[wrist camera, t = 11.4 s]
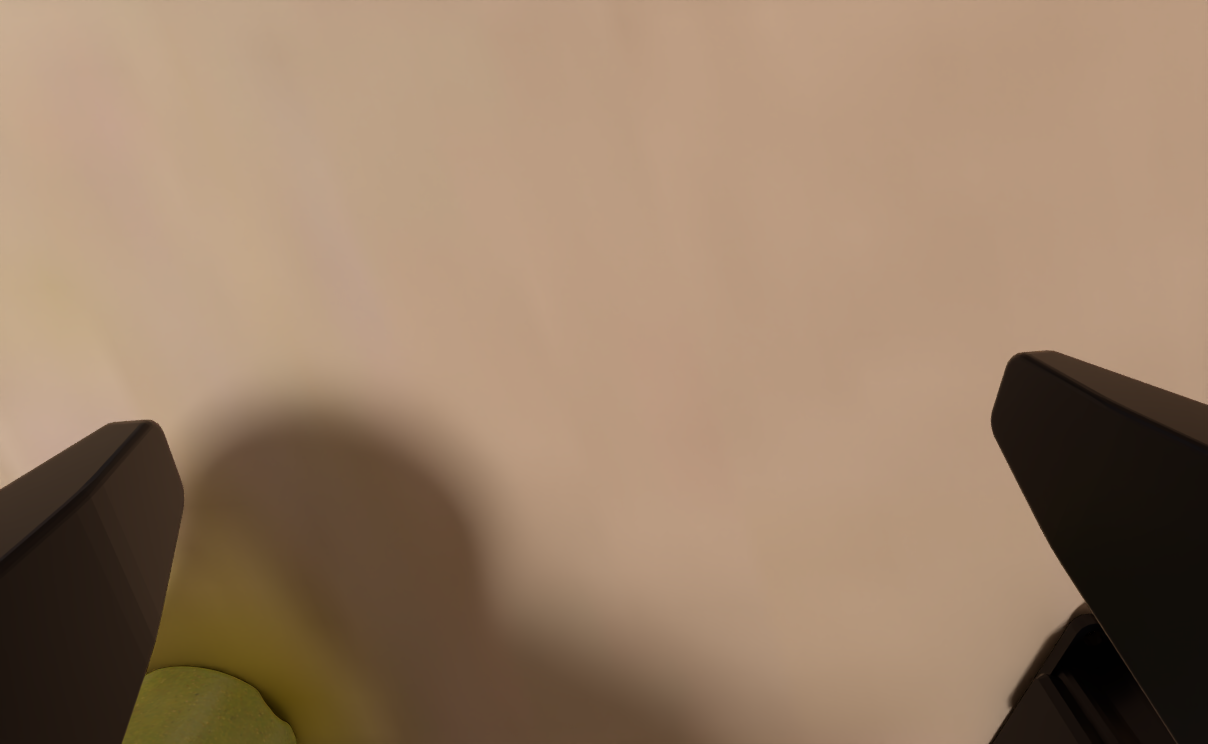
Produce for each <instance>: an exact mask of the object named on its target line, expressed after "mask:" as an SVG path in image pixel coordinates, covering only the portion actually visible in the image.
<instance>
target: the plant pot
mask: <svg viewBox="0 0 1208 744" xmlns="http://www.w3.org/2000/svg"><path fill="white" fill-rule="evenodd" d="M122 744H297V741H296V738H295V735H294V733H293V730H292V728H291V726H290V725H289V724H288V723H287V722H284V721H282V720H281V719H279V718H278V717H277V716H276V715H275V714H274V713H273V712H272V710H271V709H270V708H269V707H268V705H267V704H266V703H265V701H264V700H263V698H262V697H261V695H260V693H259V691H258V690H257V689H255V688H254V687H253V686H251V685H249V684H247V683H246V682H244V681H242V680H240V679H238V678H235V677H233V676H230V675H228V674H225V673H222V672H219V671H215V670H210V669H205V668H199V667H189V666H178V667H167V668H162V669H158V670H155V671H153V672H151V673H149V674H147V675H145V677H144V680H143V683H142V685H141V688H140V691H139V694H138V697H137V700H136V703H135V706H134V709H133V712H132V715H131V718H130V721H129V724H128V727H127V730H126V733H125V736H124V739H123V742H122Z"/></svg>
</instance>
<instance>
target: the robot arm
mask: <svg viewBox="0 0 1208 744" xmlns="http://www.w3.org/2000/svg"><path fill="white" fill-rule="evenodd" d="M991 427H992V431H993V435H994V437H995V439H996V441H997V443H998V445H999V447H1000V449H1001V451H1002V453H1003V455H1004V457H1005V459H1006V461H1007V463H1008V465H1009V467H1010V469H1011V471H1012V473H1013V475H1014V477H1015V479H1016V481H1017V483H1018V485H1019V487H1020V489H1021V491H1022V493H1023V495H1024V497H1025V499H1026V500H1027V502H1028V504H1029V506H1030V508H1031V510H1032V512H1033V514H1034V516H1035V518H1036V520H1037V522H1038V524H1039V526H1040V528H1041V530H1042V532H1043V534H1044V536H1045V537H1046V539H1047V541H1048V543H1049V545H1050V547H1051V548H1052V550H1053V552H1054V553H1055V555H1056V556H1057V558H1058V560H1059V561H1060V563H1061V565H1062V566H1063V568H1064V569H1065V571H1066V572H1067V574H1068V576H1069V577H1070V579H1071V580H1072V582H1073V583H1074V585H1075V586H1076V588H1077V590H1078V591H1079V593H1080V594H1081V596H1082V597H1083V599H1084V600H1085V602H1086V604H1087V605H1088V607H1089V608H1090V610H1091V611H1092V613H1093V614H1085V615H1081V616H1079V617H1077V618H1075V619H1074V620H1073V621H1072V622H1071V623H1070V624H1069V626H1068V627H1067V629H1066V630H1065V632H1064V633H1063V635H1062V637H1061V638H1060V640H1059V641H1058V643H1057V644H1056V646H1055V647H1054V649H1053V651H1052V652H1051V654H1050V655H1049V657H1048V658H1047V660H1046V661H1045V663H1044V665H1043V666H1042V668H1041V669H1040V671H1039V672H1038V674H1037V675H1036V677H1035V679H1034V680H1033V682H1032V683H1031V685H1030V686H1029V688H1028V689H1027V691H1026V693H1025V694H1024V696H1023V697H1022V699H1021V700H1020V702H1019V703H1018V705H1017V707H1016V708H1015V710H1014V711H1013V713H1012V714H1011V716H1010V717H1009V719H1008V721H1007V722H1006V724H1005V725H1004V727H1003V728H1002V730H1001V731H1000V733H999V735H998V736H997V738H996V739H995V741H994V742H993V744H1208V405H1206V404H1204V403H1201V402H1198V401H1195V400H1192V399H1189V398H1187V397H1184V396H1181V395H1178V394H1175V393H1172V392H1170V391H1167V390H1164V389H1161V388H1158V387H1155V386H1152V385H1150V384H1147V383H1144V382H1141V381H1138V380H1135V379H1133V378H1130V377H1127V376H1124V375H1121V374H1118V373H1116V372H1113V371H1110V370H1107V369H1104V368H1101V367H1098V366H1096V365H1093V364H1090V363H1087V362H1084V361H1081V360H1079V359H1076V358H1073V357H1070V356H1067V355H1064V354H1062V353H1059V352H1055V351H1048V350H1045V351H1033V352H1022V353H1018V354H1016V355H1014V356H1013V357H1012V358H1011V359H1010V360H1009V361H1008V363H1007V366H1006V368H1005V372H1004V375H1003V378H1002V381H1001V384H1000V388H999V391H998V394H997V397H996V400H995V403H994V407H993V410H992V414H991ZM183 507H184V490H183V485H182V482H181V479H180V476H179V473H178V470H177V468H176V465H175V462H174V459H173V456H172V454H171V451H170V448H169V445H168V443H167V440H166V437H165V434H164V432H163V430H162V428H161V427H160V426H159V424H158V423H156V422H154V421H152V420H135V421H122V422H113V423H109V424H107V425H105V426H103V427H101V428H100V429H98V430H97V431H95V432H93V433H92V434H90V435H88V436H87V437H85V438H83V439H82V440H80V441H79V442H77V443H75V444H74V445H72V446H70V447H69V448H67V449H66V450H64V451H62V452H61V453H59V454H57V455H56V456H54V457H52V458H51V459H49V460H48V461H46V462H44V463H43V464H41V465H39V466H38V467H36V468H35V469H33V470H31V471H30V472H28V473H26V474H25V475H23V476H21V477H20V478H18V479H17V480H15V481H13V482H12V483H10V484H8V485H7V486H5V487H3V488H2V489H0V744H122V742H123V739H124V736H125V733H126V730H127V727H128V724H129V721H130V718H131V715H132V712H133V709H134V706H135V703H136V700H137V697H138V694H139V691H140V688H141V685H142V683H143V680H144V677H145V674H146V671H147V668H148V665H149V661H150V658H151V655H152V651H153V648H154V645H155V642H156V637H157V633H158V629H159V625H160V620H161V616H162V611H163V606H164V601H165V596H166V591H167V586H168V581H169V577H170V572H171V567H172V562H173V557H174V552H175V547H176V542H177V537H178V533H179V528H180V523H181V518H182V513H183ZM1091 631H1095V632H1094V633H1093V634H1091V635H1089V636H1085V635H1086V634H1088V633H1089V632H1091Z"/></svg>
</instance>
